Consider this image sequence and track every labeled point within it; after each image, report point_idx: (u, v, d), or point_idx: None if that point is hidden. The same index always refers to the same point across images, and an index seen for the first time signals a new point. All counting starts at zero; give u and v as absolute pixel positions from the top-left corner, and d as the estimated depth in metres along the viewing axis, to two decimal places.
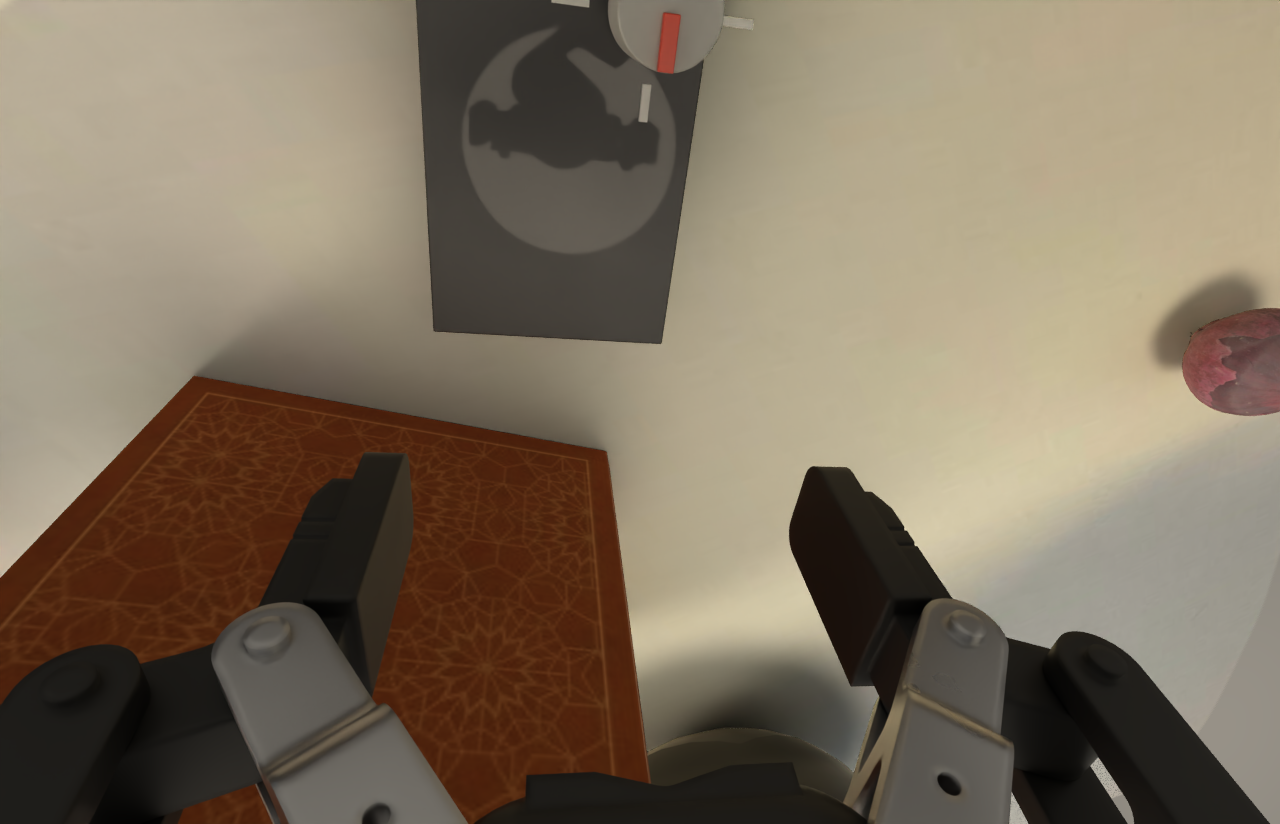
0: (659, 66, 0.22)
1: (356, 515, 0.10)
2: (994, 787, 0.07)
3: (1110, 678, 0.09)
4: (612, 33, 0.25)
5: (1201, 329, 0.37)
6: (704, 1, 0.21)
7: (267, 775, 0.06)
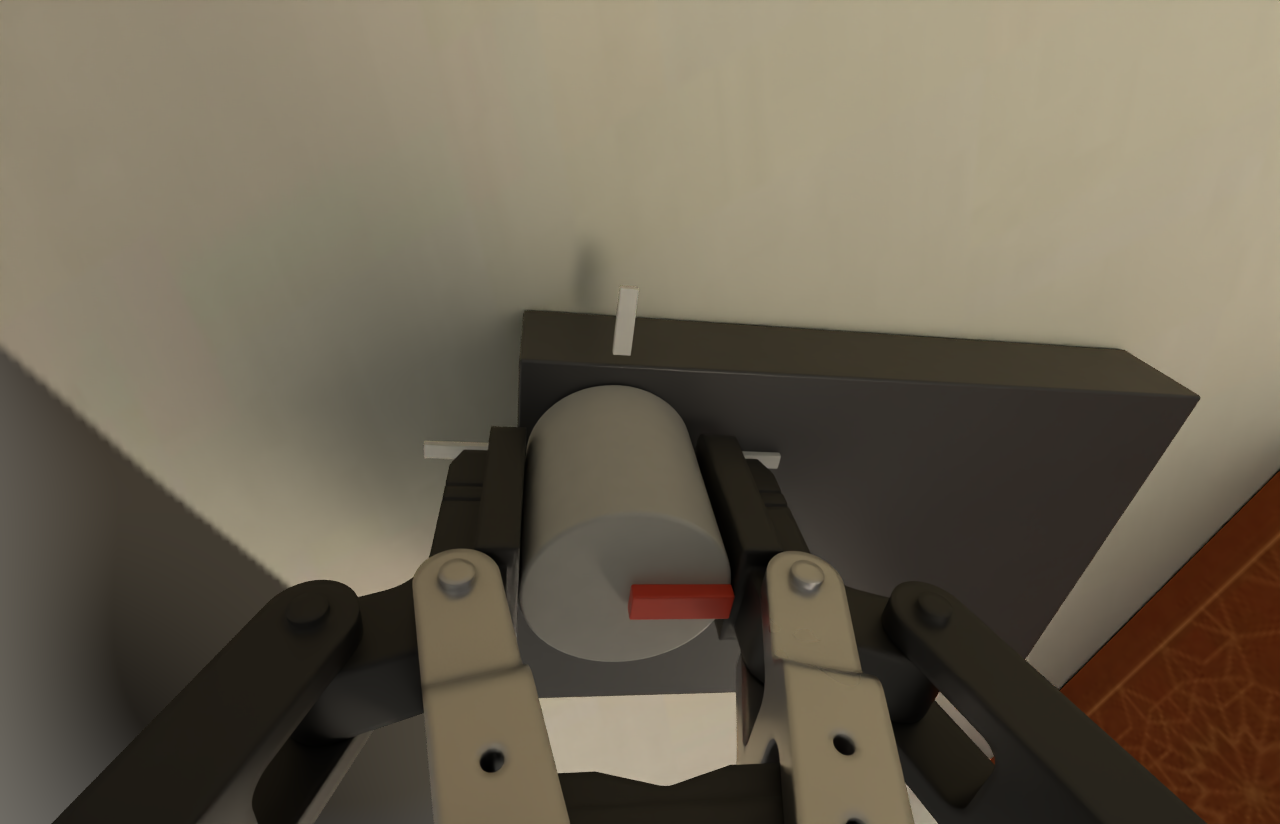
0: None
1: (499, 479, 0.11)
2: (879, 730, 0.07)
3: (934, 622, 0.09)
4: None
5: None
6: (607, 549, 0.10)
7: (422, 689, 0.07)
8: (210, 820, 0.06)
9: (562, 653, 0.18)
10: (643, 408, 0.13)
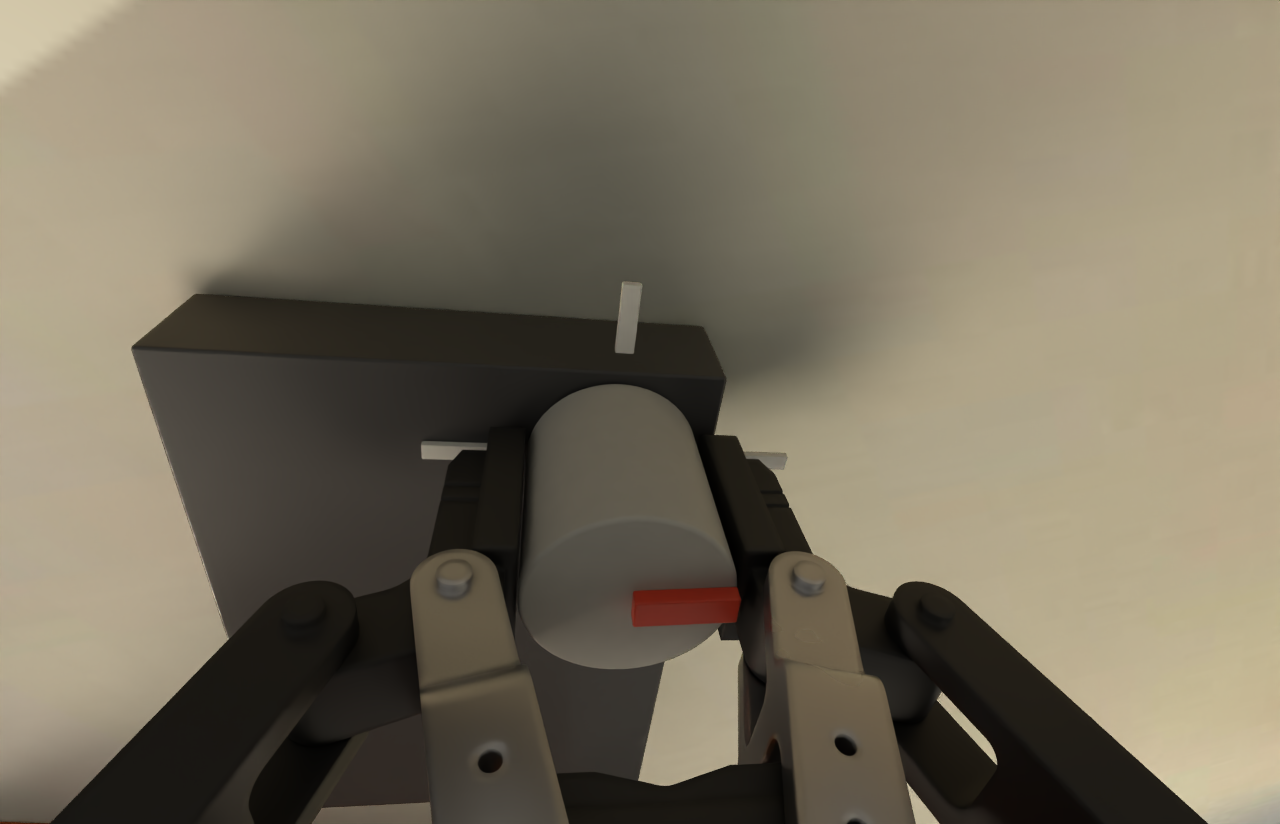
0: None
1: (498, 480, 0.11)
2: (880, 730, 0.07)
3: (937, 622, 0.09)
4: None
5: None
6: (605, 556, 0.10)
7: (420, 690, 0.07)
8: (206, 822, 0.06)
9: (266, 416, 0.12)
10: (641, 406, 0.12)
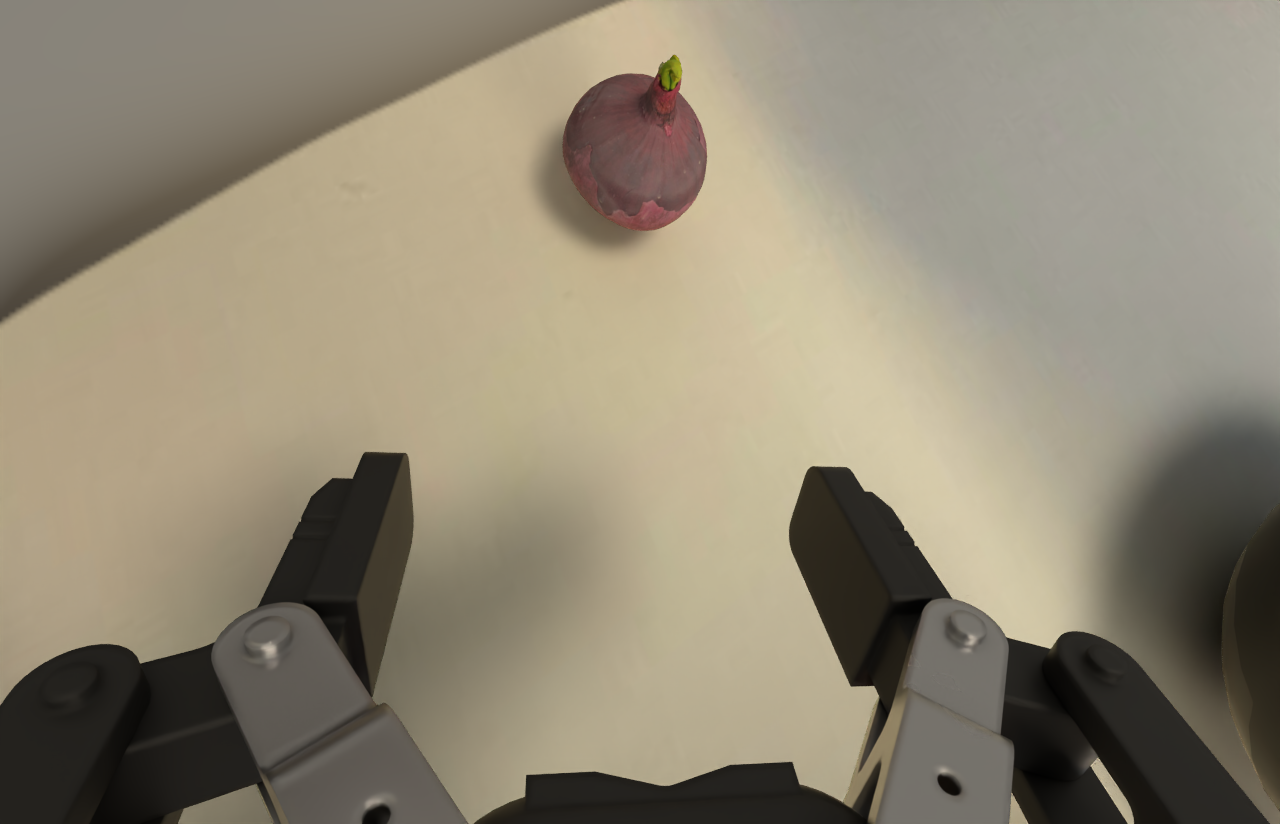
0: None
1: (356, 515, 0.10)
2: (994, 787, 0.07)
3: (1110, 678, 0.09)
4: None
5: None
6: None
7: (267, 775, 0.06)
8: None
9: None
10: None
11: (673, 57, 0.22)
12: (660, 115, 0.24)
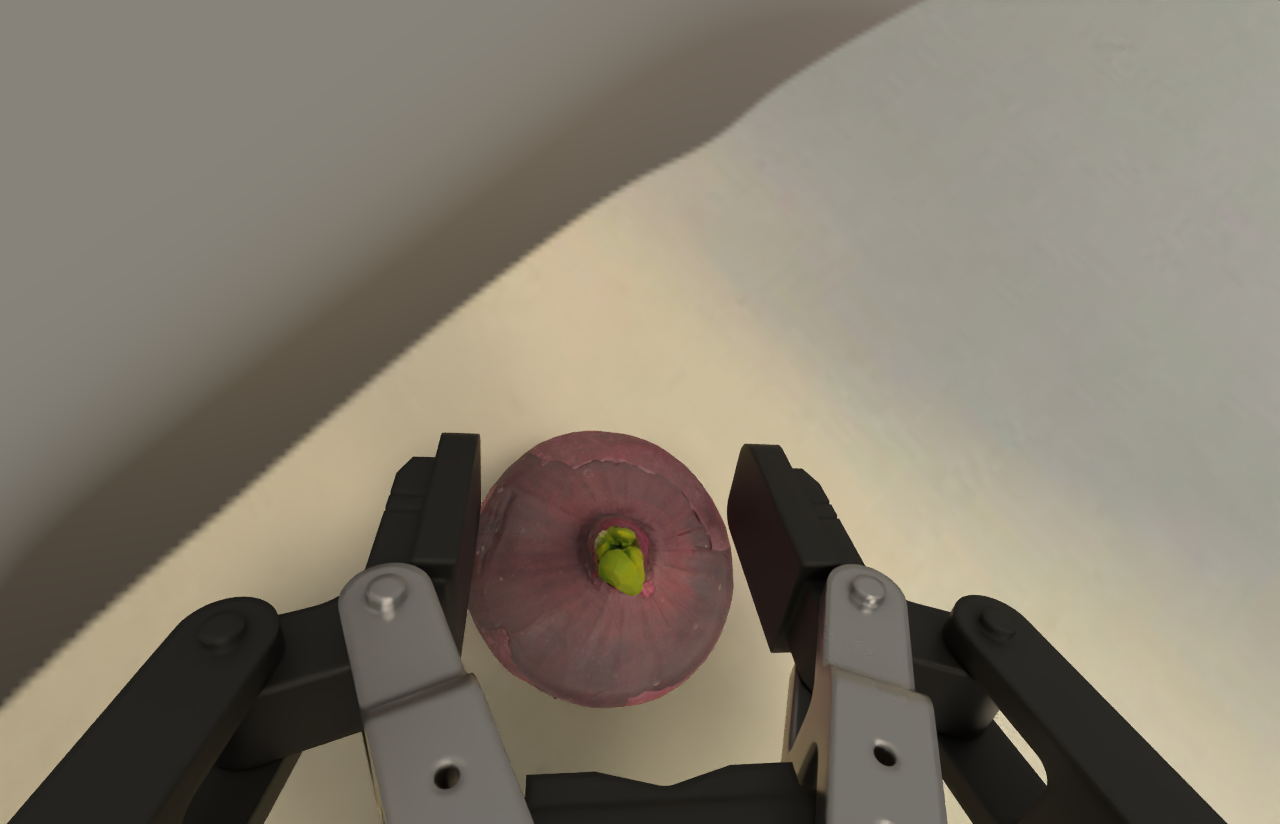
0: None
1: (444, 488, 0.11)
2: (924, 747, 0.07)
3: (1001, 637, 0.09)
4: None
5: None
6: None
7: (363, 715, 0.07)
8: None
9: None
10: None
11: (619, 530, 0.10)
12: None
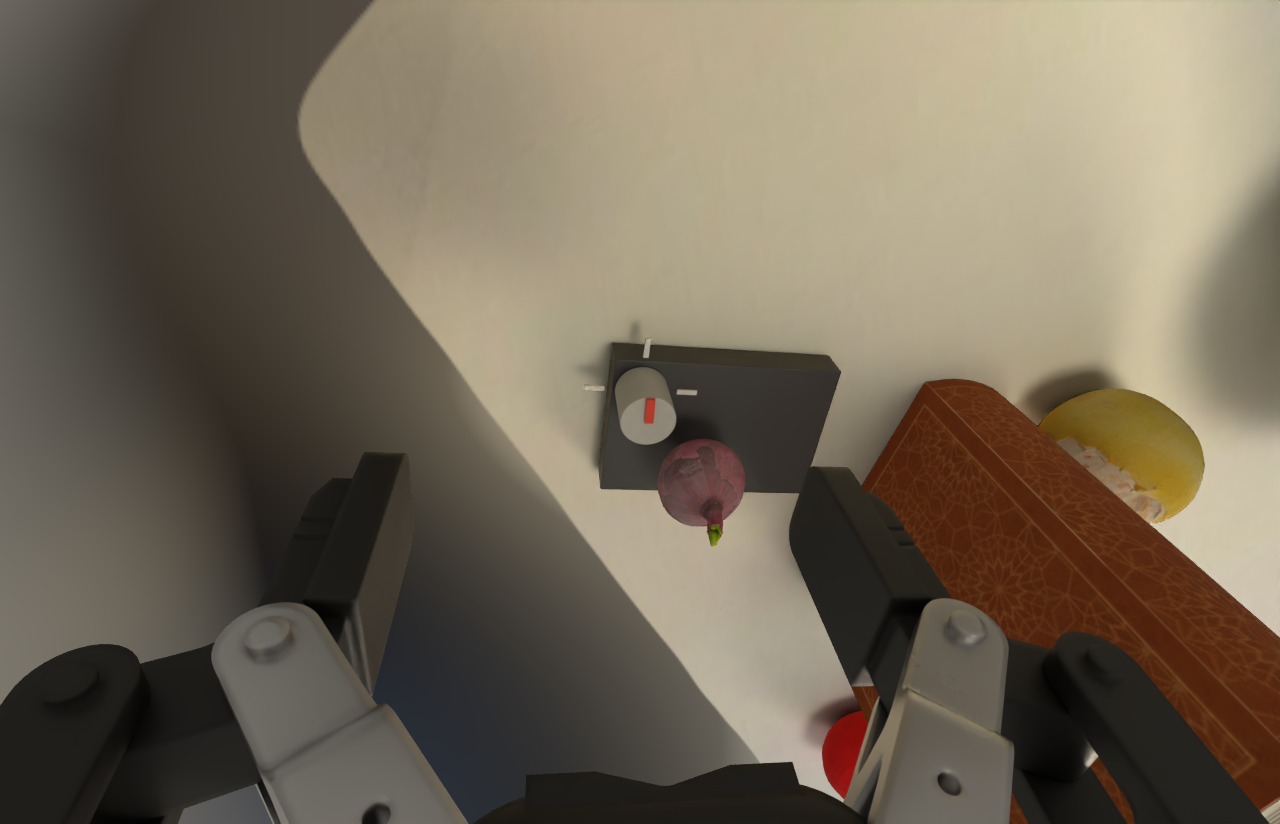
0: (654, 403, 0.40)
1: (356, 515, 0.10)
2: (994, 787, 0.07)
3: (1110, 678, 0.09)
4: None
5: None
6: (631, 427, 0.41)
7: (267, 775, 0.06)
8: None
9: (621, 468, 0.47)
10: (616, 390, 0.43)
11: (720, 531, 0.39)
12: None
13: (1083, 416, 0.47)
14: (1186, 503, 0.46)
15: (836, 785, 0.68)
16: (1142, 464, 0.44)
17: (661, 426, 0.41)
